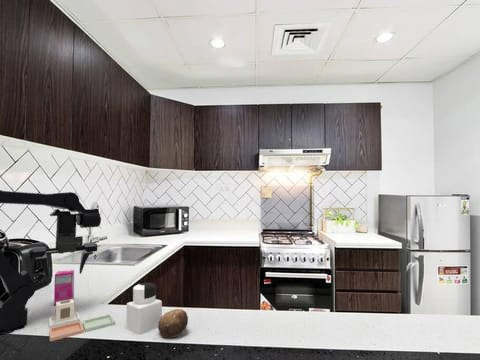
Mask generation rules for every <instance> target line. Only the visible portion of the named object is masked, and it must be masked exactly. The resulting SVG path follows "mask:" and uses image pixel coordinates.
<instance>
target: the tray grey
mask: <svg viewBox="0 0 480 360" xmlns="http://www.w3.org/2000/svg"><path fill="white" fill-rule="evenodd" d="M55 318H56V315H55V316H51V317H49V318H48V321H49V322H48V323H49V324H48V325H49V326H48V327H49V328H48V329H49V330H50V328H53V327H58V326H62V325H66V324H70V323H75V322H79V321H81V317H80V314H79V312H78V311H74V320H69V321H65V322H61V323H56V322H55Z"/></svg>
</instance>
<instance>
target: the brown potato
mask: <svg viewBox="0 0 480 360" xmlns="http://www.w3.org/2000/svg"><path fill="white" fill-rule="evenodd" d="M188 321H189V317H188V314H187V311H185V310H184V309H182V308H176V309H172V310H170V311H167V312H165V313H164V314H162V317H161V319H160V320H159V324H158V327H157V328H158V331H159V334H160V335H161V336H162V337H164V338H167V339H168V338H169V339H170V338H171V339H173V338H176V337H178V336H180V335H181V334H183V333H184V331H185V330H186V328H187V326H188V323H189V322H188Z"/></svg>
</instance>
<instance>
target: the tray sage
mask: <svg viewBox="0 0 480 360" xmlns="http://www.w3.org/2000/svg"><path fill="white" fill-rule="evenodd" d="M81 322H82V325H83V328H84V333H88V332H92V331H96V330H100V329H104V328H108V327H112V326H115V325H116V320H115V319H114V317H113V316H112V314H111V313H108V314H104V315H100V316H96V317H92V318H88V319H84V320H82V321H81Z"/></svg>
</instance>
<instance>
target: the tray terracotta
mask: <svg viewBox="0 0 480 360" xmlns="http://www.w3.org/2000/svg"><path fill="white" fill-rule="evenodd" d="M82 322H83V321H81V320H80V321H79V322H75V323H70V324H66V325H62V326H58V327H53V328H50V329H49V342H54V341H58V340H61V339H66V338H69V337H73V336H77V335H80V334H83V333H85V330H84V327H83V324H82Z"/></svg>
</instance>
